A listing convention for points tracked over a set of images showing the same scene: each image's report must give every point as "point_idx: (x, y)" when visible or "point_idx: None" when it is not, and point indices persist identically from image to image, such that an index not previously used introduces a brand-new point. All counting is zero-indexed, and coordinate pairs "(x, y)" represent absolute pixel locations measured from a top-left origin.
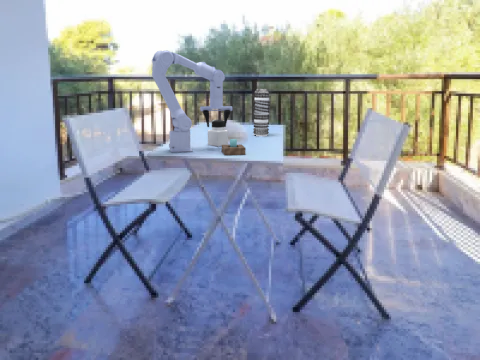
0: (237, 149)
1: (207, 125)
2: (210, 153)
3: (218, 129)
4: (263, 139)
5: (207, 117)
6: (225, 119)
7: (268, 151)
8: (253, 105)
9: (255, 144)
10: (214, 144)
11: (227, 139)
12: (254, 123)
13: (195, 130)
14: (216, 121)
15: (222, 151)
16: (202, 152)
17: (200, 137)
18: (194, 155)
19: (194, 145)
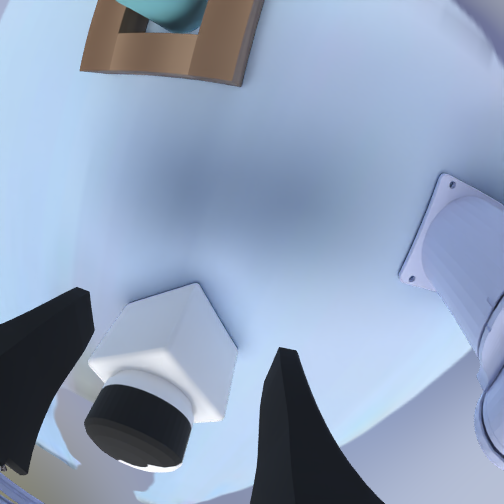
0: None
1: (299, 369)
2: (350, 54)
3: (149, 381)
4: None
5: (319, 460)
6: (20, 334)
7: (10, 54)
8: (4, 467)
9: (17, 256)
10: (210, 311)
11: (117, 321)
12: None
13: (197, 494)
14: (143, 442)
15: (250, 45)
16: (389, 116)
17: (212, 455)
18: (464, 56)
19: (317, 358)
